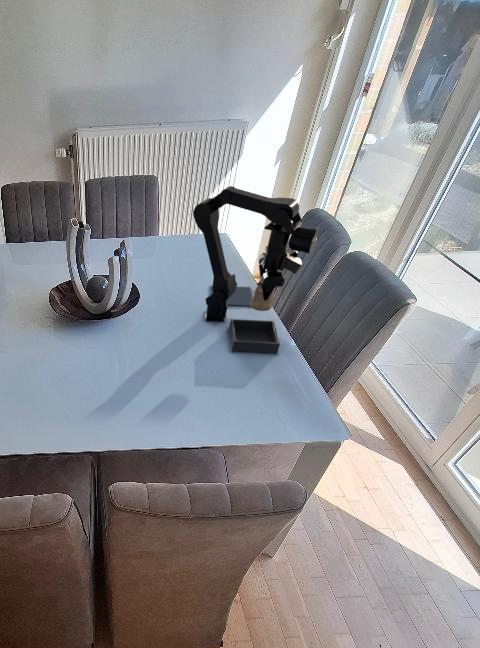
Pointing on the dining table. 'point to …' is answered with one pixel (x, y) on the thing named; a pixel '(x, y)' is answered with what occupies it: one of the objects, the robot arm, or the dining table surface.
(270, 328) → the bin
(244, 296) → the mat
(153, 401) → the dining table surface
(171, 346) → the dining table surface
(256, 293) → the figurine
